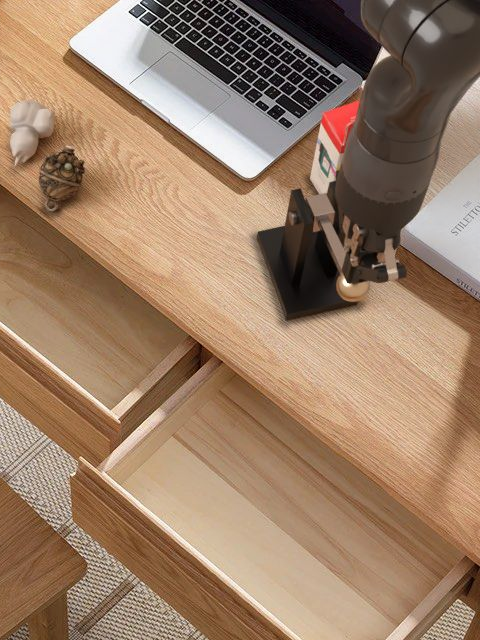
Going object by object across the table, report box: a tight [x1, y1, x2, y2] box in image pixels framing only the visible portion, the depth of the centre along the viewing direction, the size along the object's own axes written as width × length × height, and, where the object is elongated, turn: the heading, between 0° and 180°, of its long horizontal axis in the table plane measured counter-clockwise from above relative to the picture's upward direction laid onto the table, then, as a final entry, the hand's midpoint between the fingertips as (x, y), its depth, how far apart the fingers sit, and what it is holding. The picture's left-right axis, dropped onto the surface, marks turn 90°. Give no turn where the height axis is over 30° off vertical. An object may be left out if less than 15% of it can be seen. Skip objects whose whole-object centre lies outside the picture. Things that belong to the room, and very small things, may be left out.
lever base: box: [256, 181, 359, 321], centre depth 130 cm, size 11×8×13 cm
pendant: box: [38, 145, 86, 213], centre depth 140 cm, size 5×8×5 cm
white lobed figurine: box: [9, 99, 55, 167], centre depth 143 cm, size 5×7×8 cm
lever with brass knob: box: [305, 193, 371, 302], centre depth 123 cm, size 13×3×3 cm, turn 13°
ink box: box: [309, 99, 360, 195], centre depth 134 cm, size 8×5×15 cm, turn 111°
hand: (354, 275), depth 119 cm, fingers closed
